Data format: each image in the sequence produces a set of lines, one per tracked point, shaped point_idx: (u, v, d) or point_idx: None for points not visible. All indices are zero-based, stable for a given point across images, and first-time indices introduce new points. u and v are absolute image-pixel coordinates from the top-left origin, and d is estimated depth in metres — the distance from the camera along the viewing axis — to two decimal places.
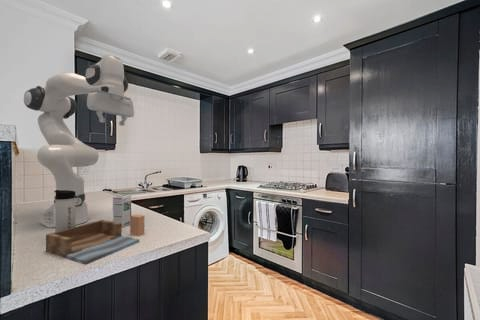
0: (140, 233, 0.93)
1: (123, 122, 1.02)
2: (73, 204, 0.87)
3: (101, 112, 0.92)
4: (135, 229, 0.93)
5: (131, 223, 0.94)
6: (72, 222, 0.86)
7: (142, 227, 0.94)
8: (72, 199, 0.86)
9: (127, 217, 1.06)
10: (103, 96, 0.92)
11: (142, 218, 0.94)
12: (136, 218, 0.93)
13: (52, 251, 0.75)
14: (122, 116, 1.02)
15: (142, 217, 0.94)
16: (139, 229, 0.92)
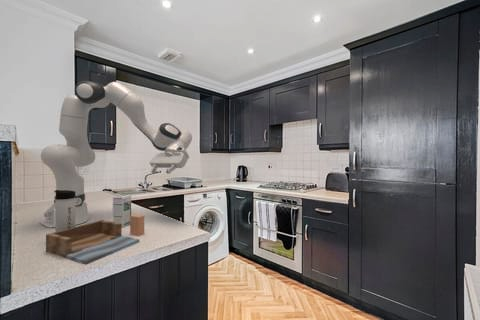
0: (140, 233, 0.93)
1: None
2: (73, 204, 0.87)
3: None
4: (135, 229, 0.93)
5: (131, 223, 0.94)
6: (72, 222, 0.86)
7: (142, 227, 0.94)
8: (72, 199, 0.86)
9: (127, 217, 1.06)
10: None
11: (142, 218, 0.94)
12: (136, 218, 0.93)
13: (52, 251, 0.75)
14: (156, 165, 1.11)
15: (142, 217, 0.94)
16: (139, 229, 0.92)
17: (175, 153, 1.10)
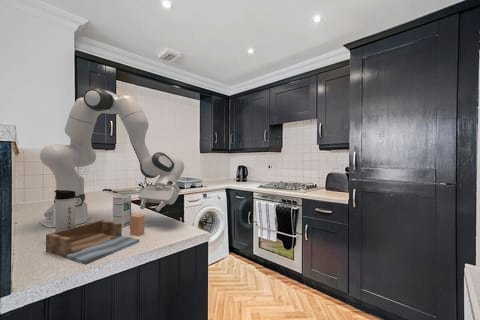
0: (140, 233, 0.93)
1: None
2: (73, 204, 0.87)
3: None
4: (135, 229, 0.93)
5: (131, 223, 0.94)
6: (72, 222, 0.86)
7: (142, 227, 0.94)
8: (72, 199, 0.86)
9: (127, 217, 1.06)
10: None
11: (142, 218, 0.94)
12: (136, 218, 0.93)
13: (52, 251, 0.75)
14: (145, 200, 1.05)
15: (142, 217, 0.94)
16: (139, 229, 0.92)
17: (165, 187, 1.04)
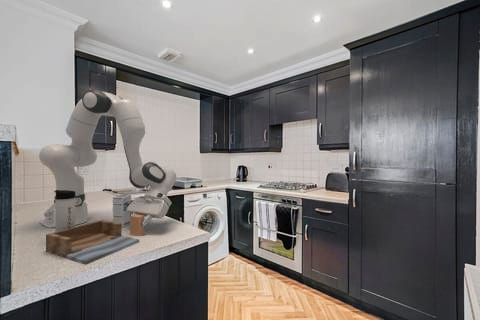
0: (140, 233, 0.93)
1: None
2: (73, 204, 0.87)
3: None
4: (135, 229, 0.93)
5: (131, 223, 0.94)
6: (72, 222, 0.86)
7: (142, 227, 0.94)
8: (72, 199, 0.86)
9: (127, 217, 1.06)
10: None
11: (142, 218, 0.94)
12: (136, 218, 0.93)
13: (52, 251, 0.75)
14: None
15: (142, 217, 0.94)
16: (139, 229, 0.92)
17: (155, 200, 0.98)
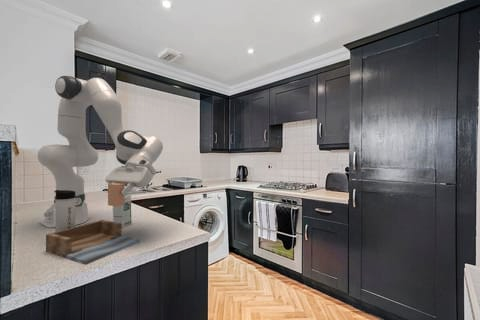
0: (119, 203, 0.81)
1: None
2: (73, 204, 0.87)
3: None
4: (113, 198, 0.81)
5: (109, 192, 0.82)
6: (72, 222, 0.86)
7: (122, 197, 0.82)
8: (72, 199, 0.86)
9: (127, 217, 1.06)
10: None
11: (122, 186, 0.82)
12: (114, 186, 0.81)
13: (52, 251, 0.75)
14: None
15: (122, 185, 0.82)
16: (118, 198, 0.81)
17: (137, 168, 0.86)
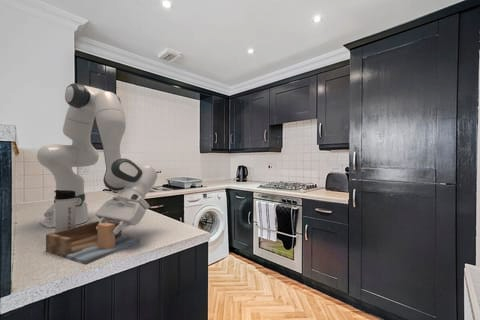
0: (109, 245, 0.77)
1: None
2: (73, 204, 0.87)
3: None
4: (103, 240, 0.77)
5: (98, 233, 0.78)
6: (72, 222, 0.86)
7: (112, 238, 0.78)
8: (72, 199, 0.86)
9: None
10: None
11: (112, 227, 0.78)
12: (104, 228, 0.77)
13: (52, 251, 0.75)
14: (105, 219, 0.83)
15: (112, 226, 0.78)
16: (107, 241, 0.77)
17: (129, 203, 0.82)
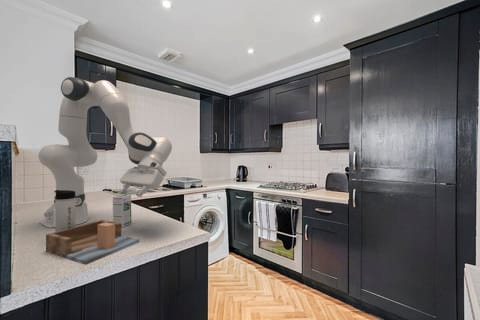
0: (109, 245, 0.77)
1: None
2: (73, 204, 0.87)
3: None
4: (103, 240, 0.77)
5: (98, 233, 0.78)
6: (72, 222, 0.86)
7: (112, 238, 0.78)
8: (72, 199, 0.86)
9: (127, 217, 1.06)
10: None
11: (112, 227, 0.78)
12: (104, 228, 0.77)
13: (52, 251, 0.75)
14: (127, 184, 0.93)
15: (112, 226, 0.78)
16: (107, 241, 0.77)
17: (148, 170, 0.91)
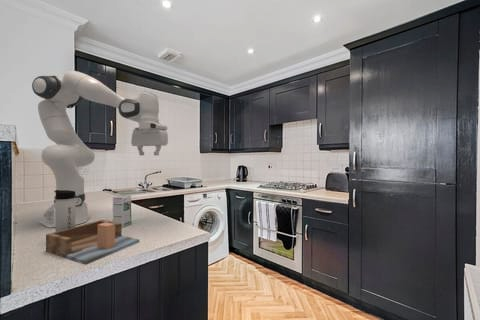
0: (109, 245, 0.77)
1: None
2: (73, 204, 0.87)
3: None
4: (103, 240, 0.77)
5: (98, 233, 0.78)
6: (72, 222, 0.86)
7: (112, 238, 0.78)
8: (72, 199, 0.86)
9: (127, 217, 1.06)
10: None
11: (112, 227, 0.78)
12: (104, 228, 0.77)
13: (52, 251, 0.75)
14: (140, 146, 1.07)
15: (112, 226, 0.78)
16: (107, 241, 0.77)
17: (152, 131, 1.01)
